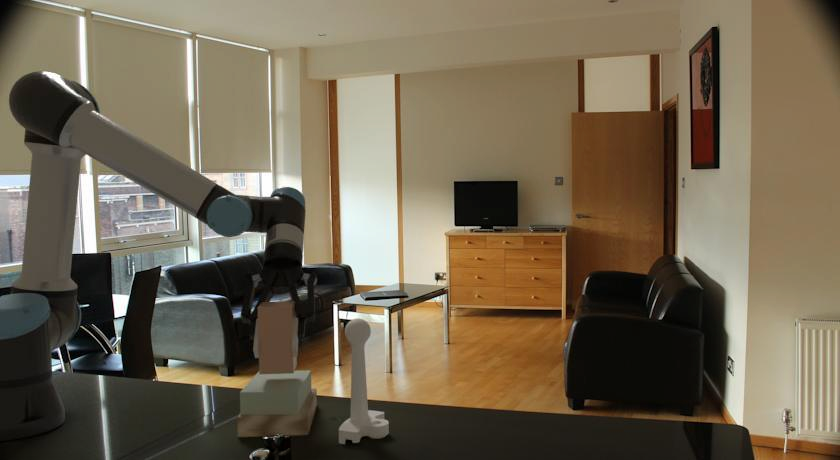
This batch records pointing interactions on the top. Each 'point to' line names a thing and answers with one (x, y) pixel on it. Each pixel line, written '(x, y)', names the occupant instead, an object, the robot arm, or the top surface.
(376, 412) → the joystick
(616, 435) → the top surface
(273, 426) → the tower base
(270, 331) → the terracotta column
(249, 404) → the tower top
